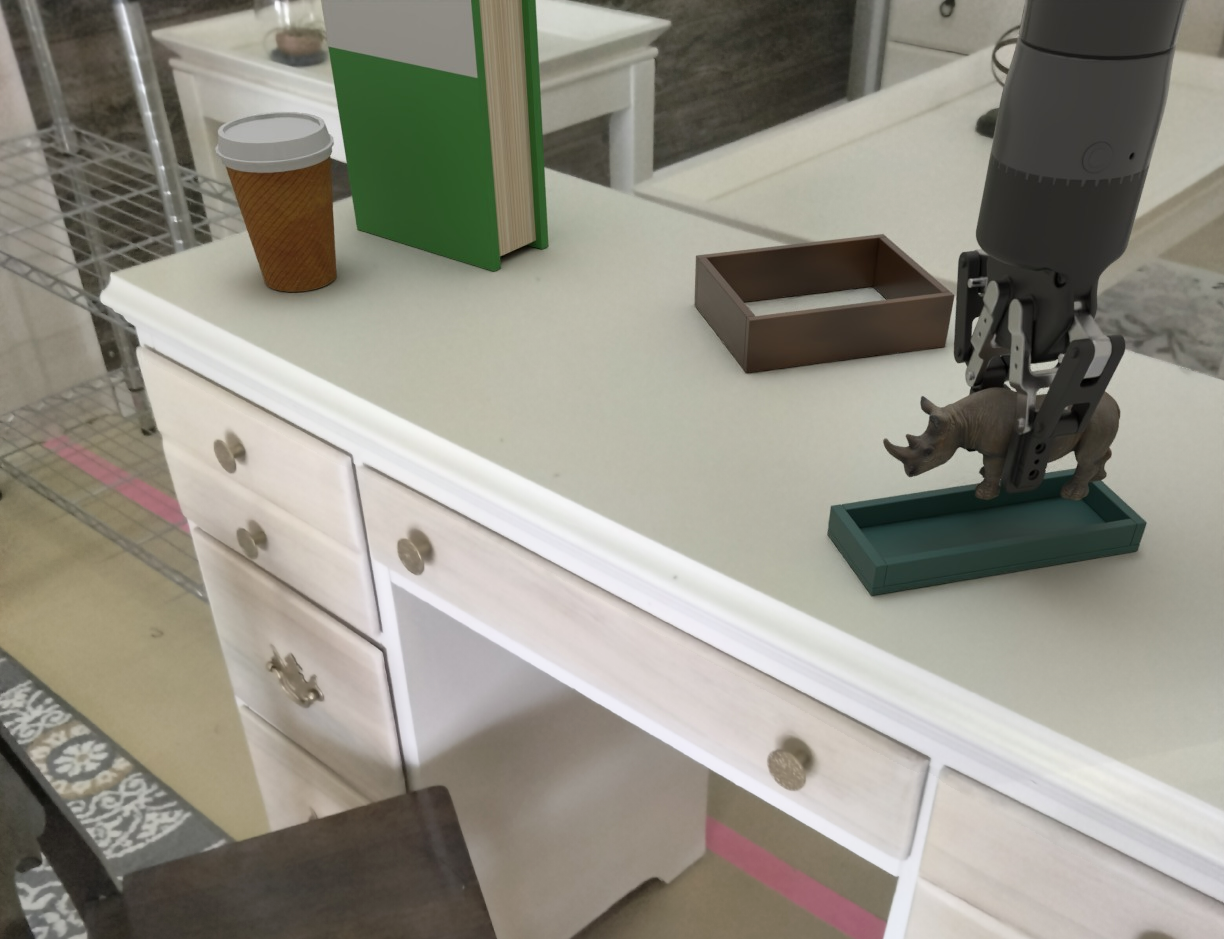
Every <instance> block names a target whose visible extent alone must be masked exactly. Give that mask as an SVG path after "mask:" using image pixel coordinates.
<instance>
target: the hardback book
mask: <svg viewBox="0 0 1224 939" xmlns="http://www.w3.org/2000/svg"><path fill="white" fill-rule="evenodd" d="M320 3H321V10H322V16H323V22H324V29H325V35H326V41H327V48H328V54H329V61H330V66H331V67H330V68H331V74H332V79H333V85H334V86H333V87H334V91H335V98H336V106H337V110H338V118H339V123H340V127H341V128H340V130H341V137H342V142H343V149H344V154H345V160H346V168H347V175H348V179H349V186H350V192H351V199H352V206H353V211H354V218H355V224H356V230H358V231H362V232H364V233H367V234H371V235H373V236H377V237H380V238H384V239H387V240H391V241H393V242H397V243H400V244H404V245H406V246H410V247H414V248H416V249H419V250H422V251H426V252H428V253H429V252H430V253H432V254H435V255H439V256H441V257H445V258H449V259H451V260H455V261H458V262H462V263H465V264H468V265H471V266H475V267H478V268H481V269H483V270H488V271H490V272H496V271H498V270H501V268H502V265H501V257H502V256H505V255H506V254H509V253H511V252H513V251H515V250H517V249H520V248H522V247H524V246H529V247H533V248H536V249H539V250H544V249H547V248H548V247H549V229H548V209H547V190H546V188H547V187H546V170H545V169H546V168H545V152H544V135H543V134H544V132H543V130H544V129H543V115H542V113H543V112H542V97H541V95H542V94H541V76H540V75H541V74H540V58H539V57H540V55H539V38H538V20H537V19H538V18H537V16H538V15H537V0H320Z"/></svg>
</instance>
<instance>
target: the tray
mask: <svg viewBox="0 0 1224 939" xmlns="http://www.w3.org/2000/svg"><path fill="white" fill-rule="evenodd" d="M1075 470H1076V467H1075V468H1067V469H1061V470H1056V471H1050V472H1045V475H1044V479H1043V481H1042V482H1041V484H1040V485H1039V486H1038V487H1037V488H1036V489H1035V490H1032V491H1026V492H1019V493H1013V494H1009V493H1007V492H1006V491H1005V489H1004V488H1003V487H1002V486H1001V485H1000V482H999V486H1000V493H999V495H998V496H997V497H994V498H992V499H990V500H986V499H979V498H977V497H976V496H975V493H976V491H975V488H976V486H977V485H978V484H979V483H980V482H978V483H977V482H976V483H971V484H964V485H959V486H958V485H957V486H951V487H945V488H944V487H943V488H939V489H932V490H923V491H920V492H911V493H905V494H900V495H899V494H898V495H893V496H892V495H891V496H887V497H880V498H873V499H866V500H859V501H854V502H847V503H842V504H833V505H830V508H829V518H828V525H827V536H828V537H829V538H830V540H831V541H832V542H833V545H835V546H836V548H837V549H838V551H839V552H840V554H841V555H842V557H843V558H844V559H845V561H846V562H847V564H848V566H850V568H851V569H852V570H853V572H854V573H855V575H856V576H857V577H858V579H859V580H860V582H861V583H862V585H863V586H864V587H865V589H866V590H867V591H868V593H869V595H871V596H877V595H883V594H888V593H895V592H903V591H907V590H913V589H919V588H925V587H931V586H937V585H943V584H949V583H954V582H955V583H956V582H962V581H967V580H972V579H973V580H974V579H979V578H985V577H990V576H997V575H1003V574H1008V573H1009V574H1010V573H1015V572H1020V571H1025V570H1026V571H1027V570H1032V569H1037V568H1043V567H1044V568H1045V567H1051V566H1056V565H1063V564H1068V563H1074V562H1080V561H1085V560H1091V559H1097V558H1103V557H1110V556H1116V555H1122V554H1128V553H1134V552H1138V551H1139V549H1140V544H1141V542H1142V540H1143V536H1144V533H1145V530H1146V527H1147V524H1148V523H1147V521H1146V520H1145V519H1144V518H1143V517H1142V516H1141V515H1139V513H1138V512H1136V511H1135V510H1134V509H1133V508H1132V507H1131V506H1130V505H1129V504H1128V503H1126V501H1125V500H1123V499H1122V498H1121V497H1120V496H1119V495H1118V494H1117V493H1116V492H1114V490H1112V488H1110V487H1109V485H1107V484H1106V483H1105V482H1104V481H1103V480H1101V481H1095V482H1088V487H1089V492H1088V494H1087V496H1085V497H1083V498H1082V499H1080V500H1072V499H1065V498H1063V497H1061V495H1060V491H1061V488H1062V487H1063V486H1064V484H1065V483H1067V482H1068V481H1069V480H1070V479H1071V478H1072V476H1073V474H1074V472H1075ZM1000 481H1001V480H1000Z"/></svg>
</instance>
